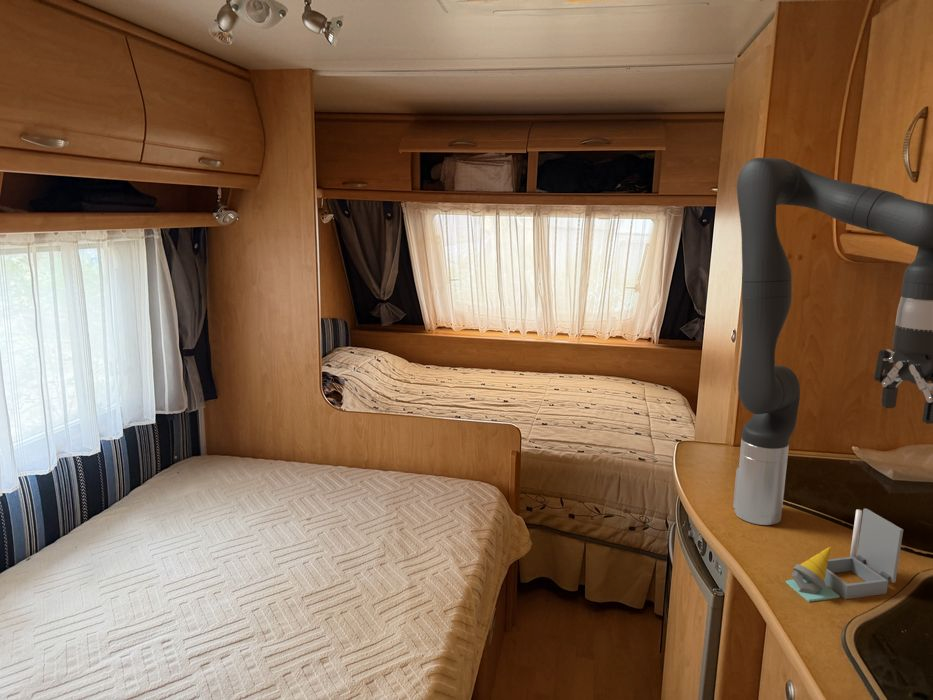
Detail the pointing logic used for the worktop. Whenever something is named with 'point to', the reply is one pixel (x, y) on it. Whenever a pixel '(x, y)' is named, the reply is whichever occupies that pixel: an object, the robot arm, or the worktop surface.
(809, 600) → the mat
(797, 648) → the worktop surface
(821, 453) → the worktop surface
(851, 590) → the case
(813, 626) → the worktop surface
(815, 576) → the drill bit
